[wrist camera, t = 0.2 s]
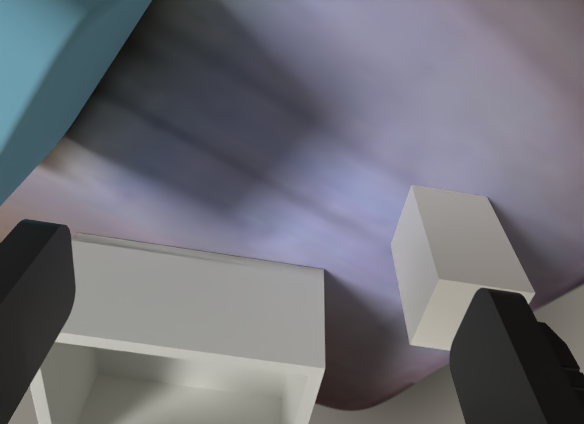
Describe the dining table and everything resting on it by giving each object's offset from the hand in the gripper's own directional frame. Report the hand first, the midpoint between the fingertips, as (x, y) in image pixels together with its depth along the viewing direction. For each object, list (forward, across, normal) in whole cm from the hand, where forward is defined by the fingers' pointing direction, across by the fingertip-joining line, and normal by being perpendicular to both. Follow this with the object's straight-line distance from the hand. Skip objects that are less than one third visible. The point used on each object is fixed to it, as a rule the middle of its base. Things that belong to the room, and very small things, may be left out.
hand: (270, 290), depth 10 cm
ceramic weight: (+18, -10, +9) cm, 23 cm away
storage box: (+19, +4, +21) cm, 28 cm away
